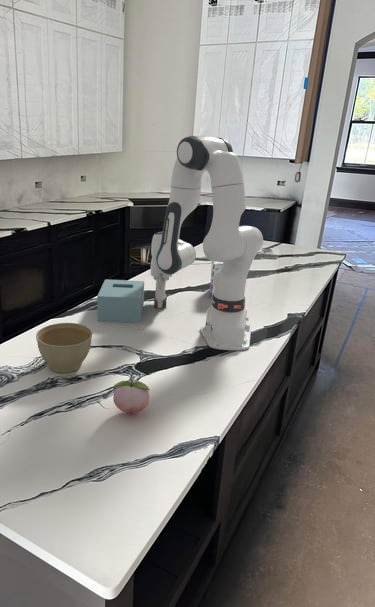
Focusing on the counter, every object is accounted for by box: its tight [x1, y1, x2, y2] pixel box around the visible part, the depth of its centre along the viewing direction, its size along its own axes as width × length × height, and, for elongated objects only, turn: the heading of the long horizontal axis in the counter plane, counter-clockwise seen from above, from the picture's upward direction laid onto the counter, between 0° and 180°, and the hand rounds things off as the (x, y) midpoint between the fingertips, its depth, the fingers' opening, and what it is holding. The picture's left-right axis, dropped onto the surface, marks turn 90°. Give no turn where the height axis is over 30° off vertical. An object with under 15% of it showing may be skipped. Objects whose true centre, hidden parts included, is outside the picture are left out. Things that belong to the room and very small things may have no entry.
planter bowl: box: [35, 322, 93, 374], centre depth 136 cm, size 16×16×11 cm
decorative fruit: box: [112, 378, 151, 414], centre depth 116 cm, size 9×8×10 cm
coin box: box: [96, 279, 145, 324], centre depth 179 cm, size 20×16×10 cm
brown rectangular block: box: [153, 295, 167, 309], centre depth 187 cm, size 2×5×4 cm, turn 92°
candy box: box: [209, 261, 223, 300], centre depth 204 cm, size 14×6×16 cm, turn 179°
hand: (160, 302), depth 187 cm, fingers open, 8 cm apart
